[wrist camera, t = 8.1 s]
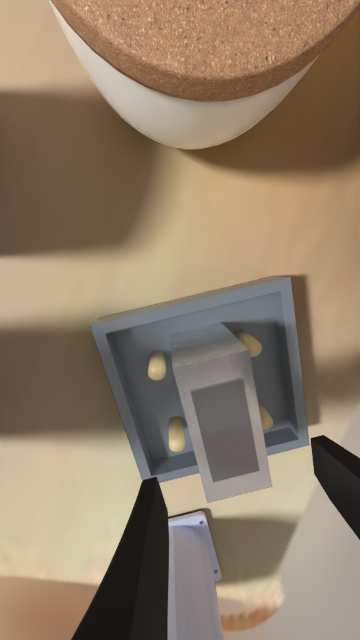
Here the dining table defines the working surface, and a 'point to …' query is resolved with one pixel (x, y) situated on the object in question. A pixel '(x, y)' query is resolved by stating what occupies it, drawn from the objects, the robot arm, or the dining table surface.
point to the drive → (221, 410)
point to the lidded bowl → (198, 59)
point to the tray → (160, 384)
